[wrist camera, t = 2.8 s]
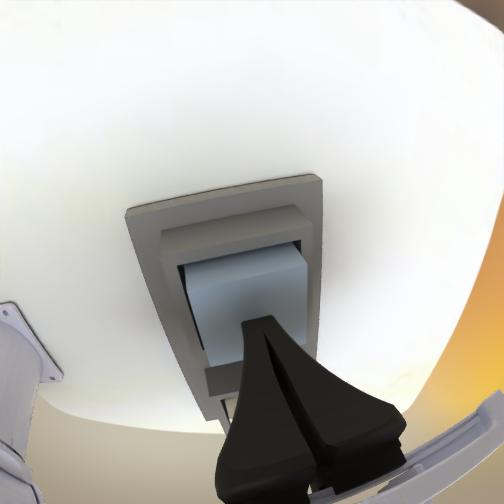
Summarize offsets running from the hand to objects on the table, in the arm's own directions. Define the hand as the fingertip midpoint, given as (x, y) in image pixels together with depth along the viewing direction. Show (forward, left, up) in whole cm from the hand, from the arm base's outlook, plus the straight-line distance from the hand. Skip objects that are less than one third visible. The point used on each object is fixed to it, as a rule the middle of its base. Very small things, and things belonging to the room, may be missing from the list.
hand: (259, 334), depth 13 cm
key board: (0, -6, -6) cm, 8 cm away
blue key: (0, 0, -3) cm, 3 cm away
